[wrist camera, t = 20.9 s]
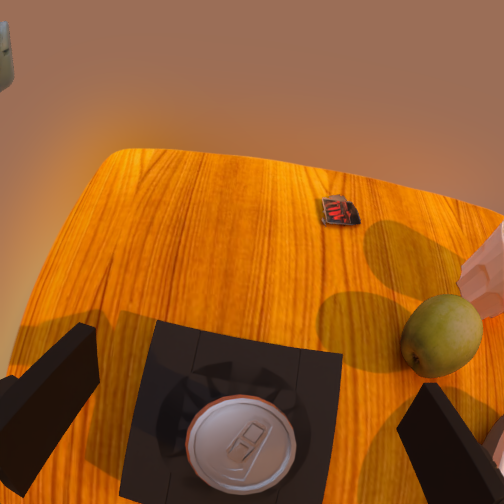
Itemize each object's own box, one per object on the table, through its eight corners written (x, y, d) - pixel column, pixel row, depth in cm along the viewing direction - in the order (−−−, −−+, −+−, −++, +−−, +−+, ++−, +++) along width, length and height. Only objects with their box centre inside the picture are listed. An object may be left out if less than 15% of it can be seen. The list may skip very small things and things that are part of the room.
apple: (458, 353, 27) (507, 330, 20) (407, 400, 24) (461, 387, 17) (427, 298, 30) (470, 265, 23) (373, 335, 27) (418, 307, 21)
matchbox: (363, 224, 34) (365, 222, 34) (326, 231, 33) (327, 228, 33) (346, 194, 36) (348, 191, 36) (310, 199, 35) (311, 196, 35)
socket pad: (130, 486, 18) (118, 496, 15) (163, 331, 26) (156, 319, 23) (304, 515, 18) (316, 527, 15) (328, 361, 26) (343, 353, 23)
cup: (503, 287, 32) (548, 254, 24) (490, 342, 28) (546, 312, 19) (461, 245, 35) (503, 203, 26) (443, 296, 31) (497, 255, 22)
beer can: (223, 389, 24) (228, 371, 13) (275, 423, 23) (322, 430, 12) (185, 436, 21) (159, 456, 11) (239, 472, 20) (257, 517, 10)
